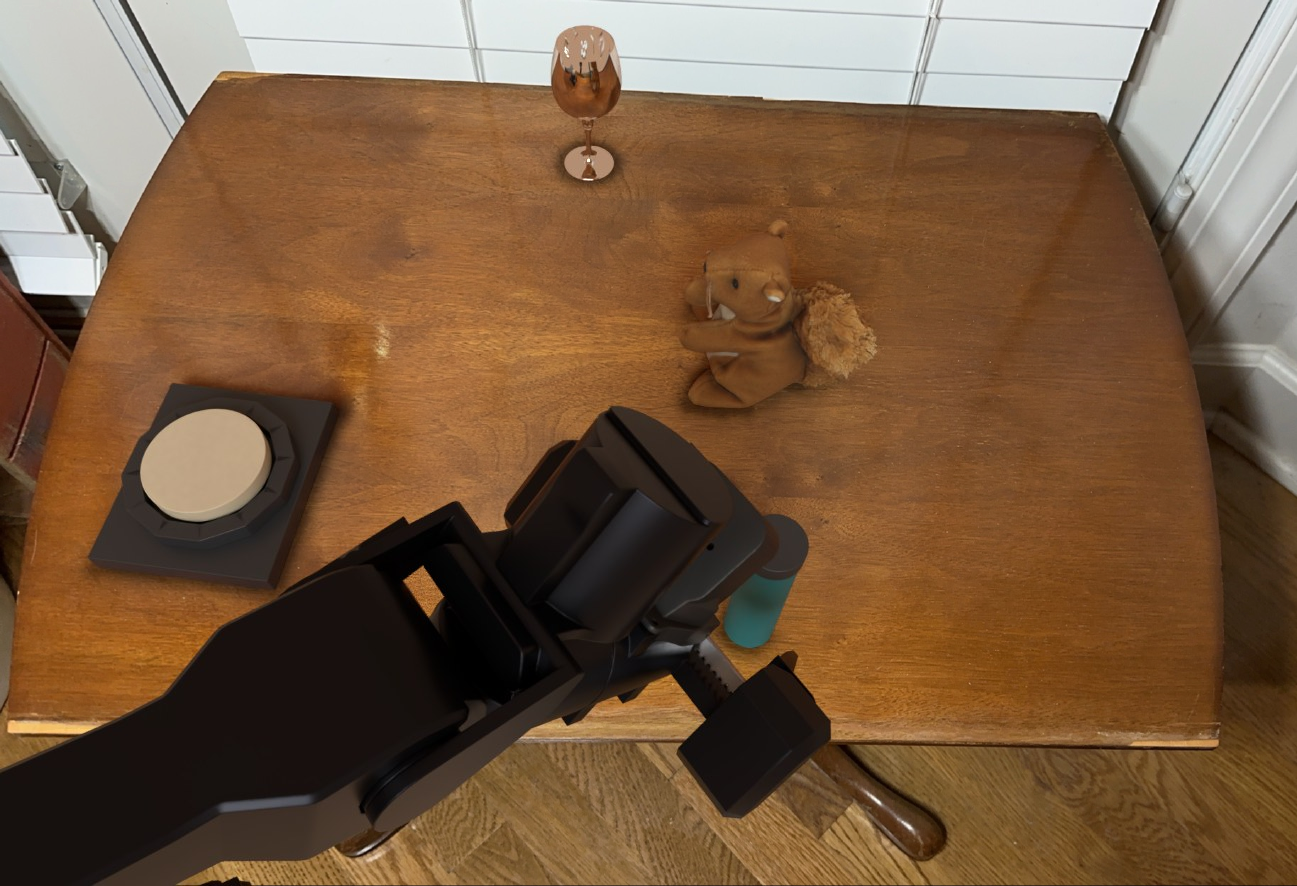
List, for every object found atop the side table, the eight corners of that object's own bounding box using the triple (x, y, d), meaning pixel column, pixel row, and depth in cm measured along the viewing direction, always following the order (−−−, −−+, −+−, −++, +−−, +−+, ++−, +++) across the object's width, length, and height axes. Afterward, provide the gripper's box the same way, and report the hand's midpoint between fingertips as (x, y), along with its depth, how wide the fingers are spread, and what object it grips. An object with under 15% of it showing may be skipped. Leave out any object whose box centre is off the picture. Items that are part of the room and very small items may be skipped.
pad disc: (248, 529, 60) (240, 520, 58) (129, 514, 60) (119, 504, 59) (288, 426, 64) (282, 415, 63) (176, 412, 64) (168, 401, 63)
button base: (275, 590, 60) (259, 572, 58) (98, 567, 61) (75, 548, 58) (338, 414, 67) (327, 391, 65) (180, 394, 68) (163, 370, 65)
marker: (770, 659, 59) (807, 576, 47) (717, 651, 59) (742, 567, 47) (773, 609, 61) (810, 517, 49) (722, 602, 61) (747, 509, 49)
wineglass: (620, 187, 80) (620, 68, 70) (554, 185, 80) (545, 66, 70) (622, 142, 83) (622, 22, 73) (559, 140, 83) (550, 19, 73)
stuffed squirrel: (686, 301, 74) (698, 176, 63) (861, 330, 73) (905, 208, 62) (664, 402, 69) (673, 286, 58) (852, 435, 68) (899, 323, 56)
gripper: (848, 702, 30) (965, 628, 44) (536, 340, 38) (716, 370, 51) (651, 885, 35) (812, 767, 48) (405, 526, 42) (603, 510, 55)
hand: (734, 593), depth 50 cm, fingers open, 9 cm apart
